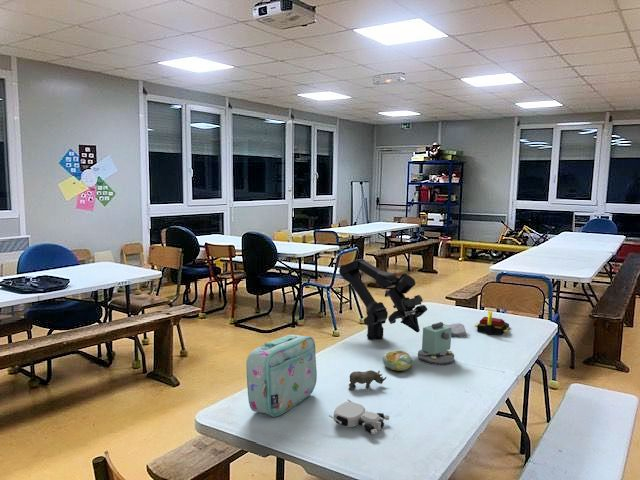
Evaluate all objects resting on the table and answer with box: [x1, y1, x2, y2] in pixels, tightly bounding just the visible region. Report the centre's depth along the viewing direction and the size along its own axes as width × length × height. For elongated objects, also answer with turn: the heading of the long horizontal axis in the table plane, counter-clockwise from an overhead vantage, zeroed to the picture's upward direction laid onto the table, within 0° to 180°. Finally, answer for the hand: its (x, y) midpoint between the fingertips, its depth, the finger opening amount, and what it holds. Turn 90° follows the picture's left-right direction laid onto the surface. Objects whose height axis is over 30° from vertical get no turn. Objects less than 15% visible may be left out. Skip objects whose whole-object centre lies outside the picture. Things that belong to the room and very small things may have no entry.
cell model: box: [382, 350, 413, 372], centre depth 192 cm, size 11×8×15 cm
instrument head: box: [421, 321, 452, 354], centre depth 198 cm, size 8×10×11 cm
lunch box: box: [245, 333, 318, 418], centre depth 158 cm, size 27×10×21 cm, turn 148°
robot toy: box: [328, 399, 390, 435], centre depth 146 cm, size 12×4×15 cm
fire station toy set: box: [474, 310, 510, 336], centre depth 239 cm, size 14×20×11 cm
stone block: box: [443, 322, 467, 338], centre depth 233 cm, size 12×5×10 cm
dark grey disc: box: [417, 348, 455, 366], centre depth 200 cm, size 14×14×3 cm
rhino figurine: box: [348, 369, 387, 391], centre depth 173 cm, size 4×14×6 cm, turn 103°
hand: (418, 331), depth 206 cm, fingers closed
